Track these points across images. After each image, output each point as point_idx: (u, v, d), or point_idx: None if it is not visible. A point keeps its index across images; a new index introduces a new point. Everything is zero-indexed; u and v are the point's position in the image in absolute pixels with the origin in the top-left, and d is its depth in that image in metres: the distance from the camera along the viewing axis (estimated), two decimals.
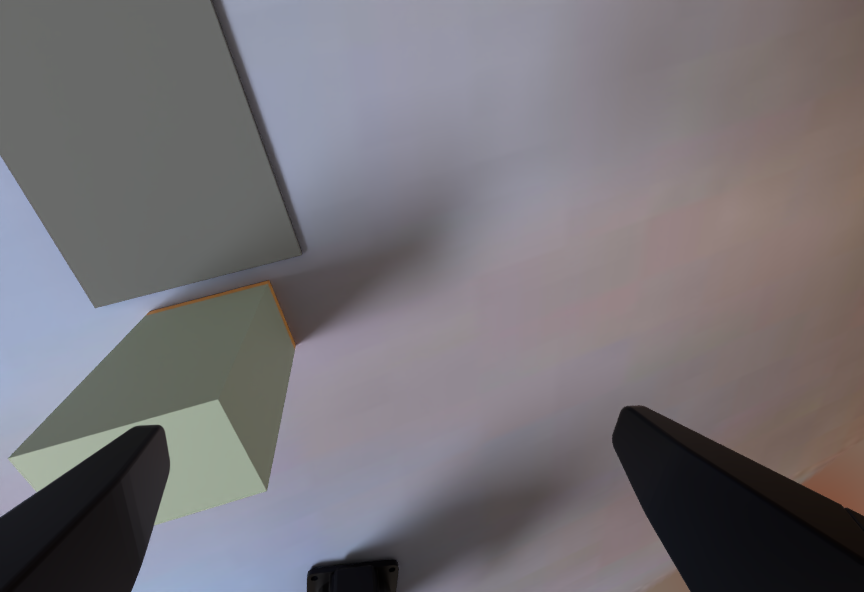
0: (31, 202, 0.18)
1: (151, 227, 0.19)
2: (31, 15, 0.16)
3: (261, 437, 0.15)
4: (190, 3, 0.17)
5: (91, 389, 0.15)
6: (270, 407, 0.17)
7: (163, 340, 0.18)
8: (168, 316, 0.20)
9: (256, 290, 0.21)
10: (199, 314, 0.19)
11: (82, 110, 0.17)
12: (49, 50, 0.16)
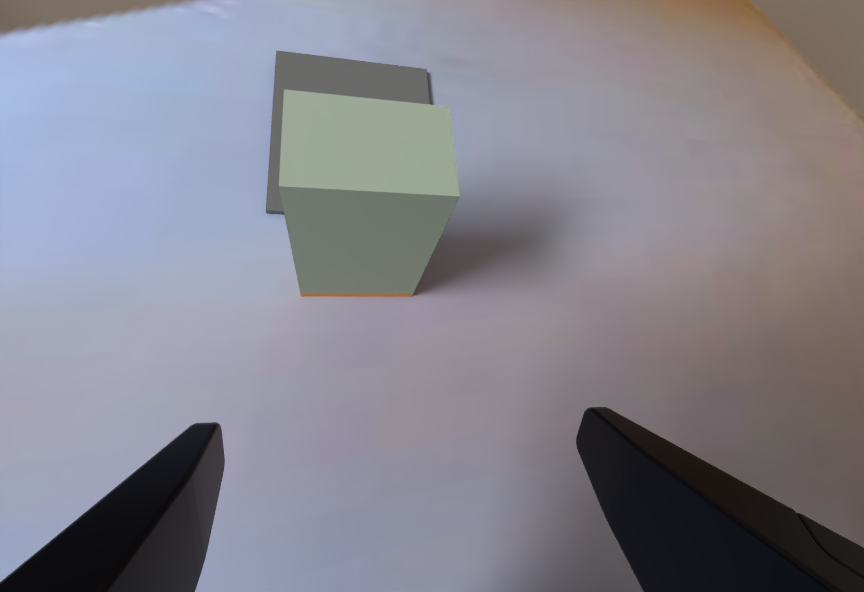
0: (271, 135, 0.25)
1: None
2: (333, 64, 0.28)
3: None
4: (416, 81, 0.29)
5: None
6: None
7: None
8: None
9: None
10: None
11: None
12: (333, 77, 0.28)
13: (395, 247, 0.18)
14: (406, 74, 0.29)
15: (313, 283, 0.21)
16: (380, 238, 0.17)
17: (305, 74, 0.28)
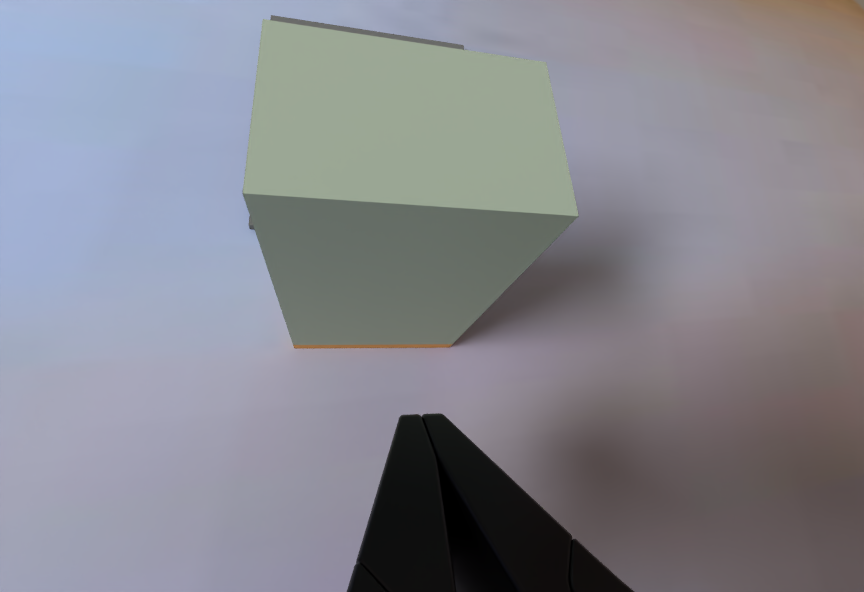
0: None
1: None
2: None
3: None
4: None
5: None
6: None
7: None
8: None
9: None
10: None
11: None
12: None
13: (442, 291, 0.11)
14: None
15: (312, 334, 0.14)
16: (421, 279, 0.11)
17: None
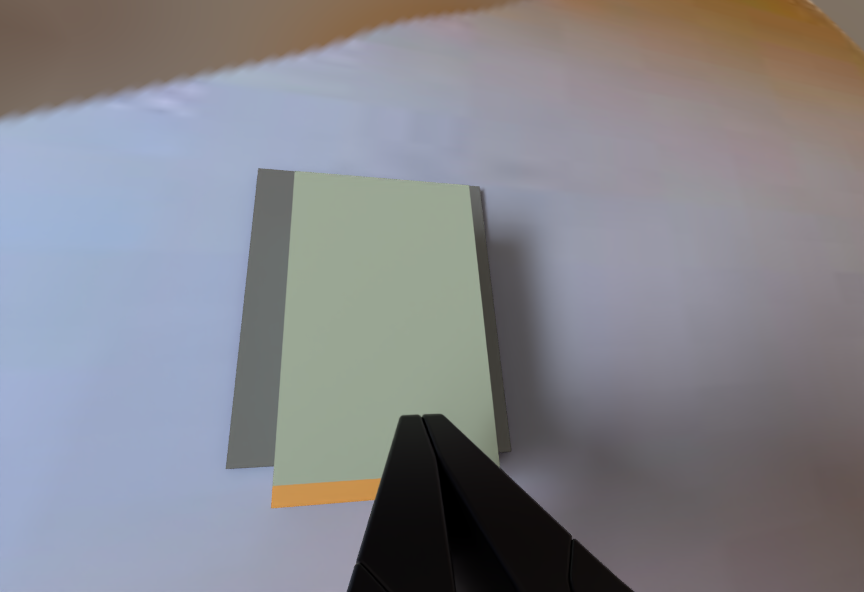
0: (243, 319, 0.16)
1: None
2: None
3: None
4: None
5: None
6: None
7: None
8: None
9: None
10: None
11: None
12: None
13: (428, 287, 0.13)
14: None
15: (305, 429, 0.11)
16: (405, 263, 0.14)
17: None
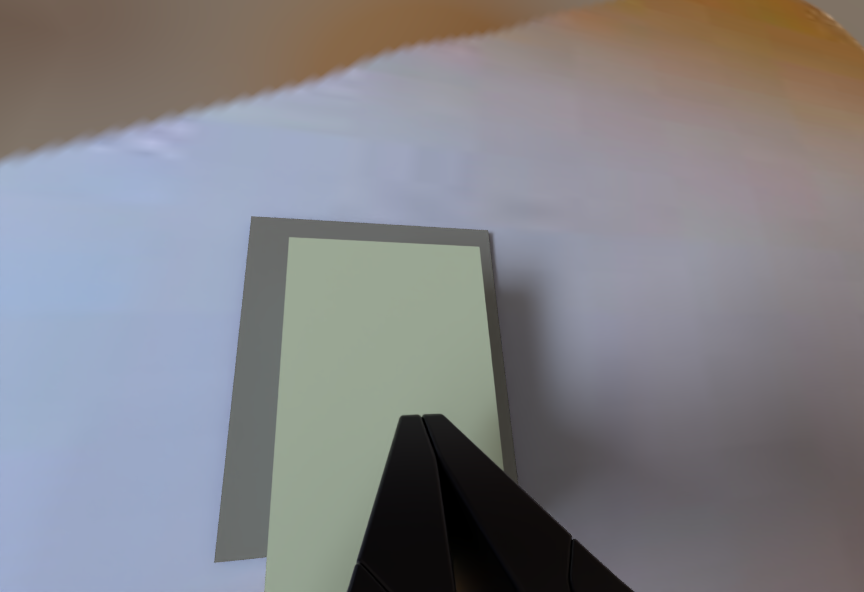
0: (235, 389, 0.15)
1: None
2: (344, 234, 0.18)
3: None
4: None
5: None
6: None
7: None
8: None
9: None
10: None
11: None
12: None
13: (436, 368, 0.12)
14: (458, 243, 0.19)
15: (299, 546, 0.10)
16: (410, 341, 0.12)
17: None
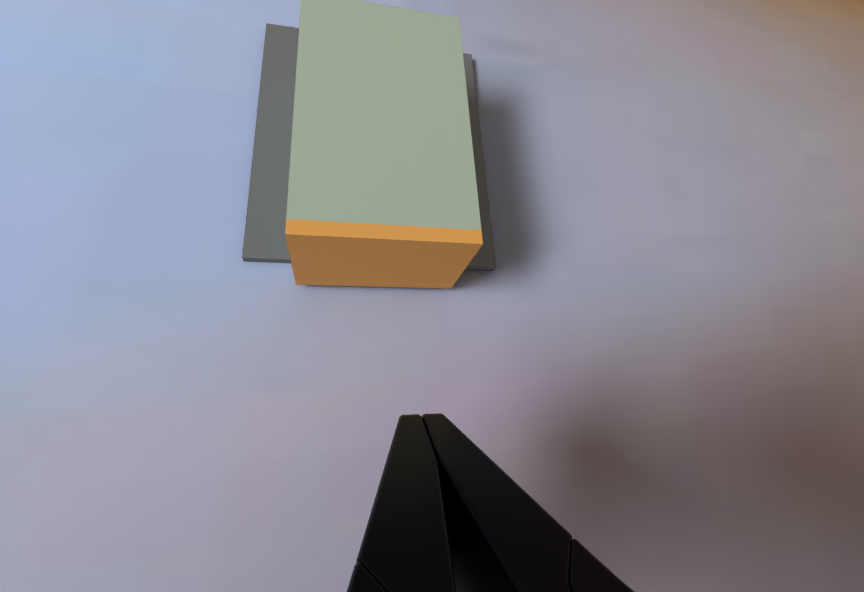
0: (255, 144, 0.18)
1: None
2: None
3: None
4: None
5: None
6: None
7: None
8: None
9: None
10: None
11: None
12: None
13: (421, 91, 0.15)
14: None
15: (313, 182, 0.13)
16: (400, 71, 0.15)
17: None
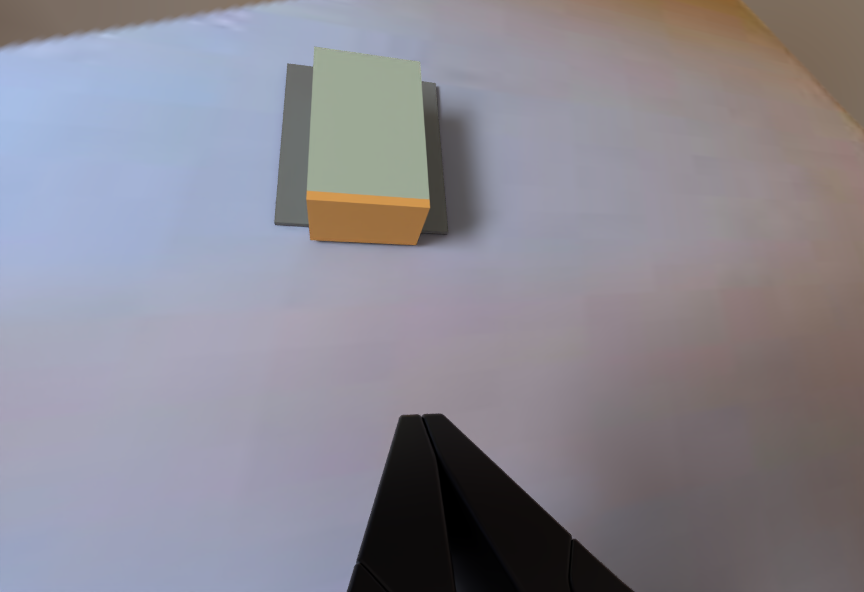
0: (281, 147, 0.26)
1: None
2: None
3: None
4: (425, 94, 0.30)
5: None
6: None
7: None
8: None
9: None
10: None
11: None
12: None
13: (392, 111, 0.23)
14: None
15: (323, 169, 0.21)
16: (379, 99, 0.23)
17: None
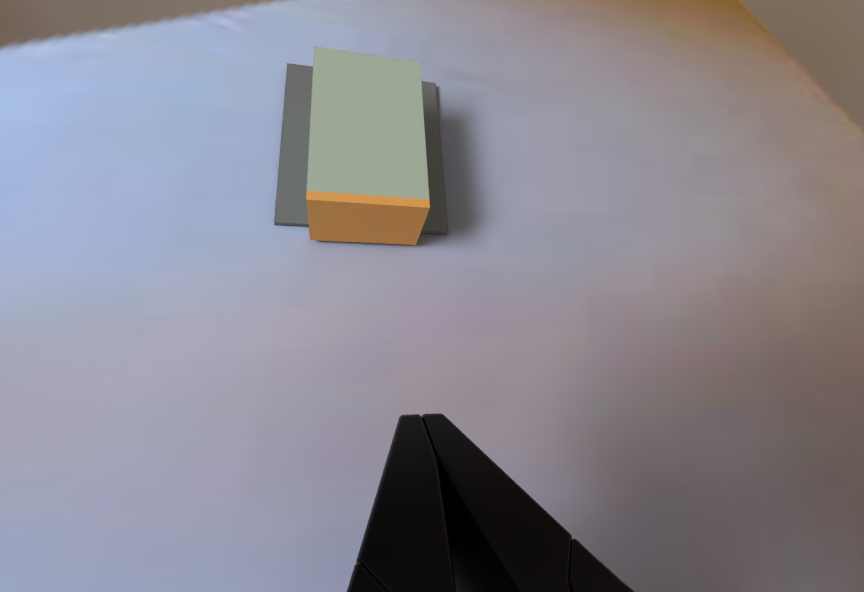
0: (281, 147, 0.26)
1: None
2: None
3: None
4: (425, 94, 0.30)
5: None
6: None
7: None
8: None
9: None
10: None
11: None
12: None
13: (392, 111, 0.23)
14: None
15: (323, 169, 0.21)
16: (379, 99, 0.23)
17: None
